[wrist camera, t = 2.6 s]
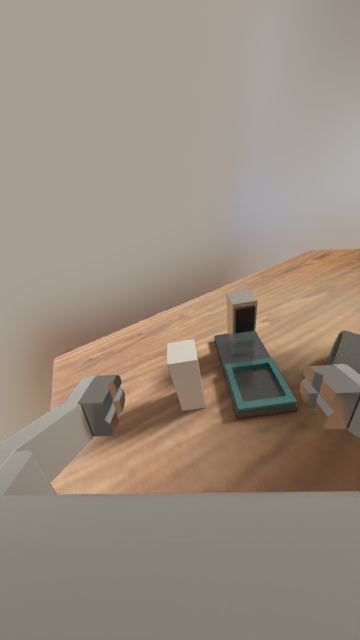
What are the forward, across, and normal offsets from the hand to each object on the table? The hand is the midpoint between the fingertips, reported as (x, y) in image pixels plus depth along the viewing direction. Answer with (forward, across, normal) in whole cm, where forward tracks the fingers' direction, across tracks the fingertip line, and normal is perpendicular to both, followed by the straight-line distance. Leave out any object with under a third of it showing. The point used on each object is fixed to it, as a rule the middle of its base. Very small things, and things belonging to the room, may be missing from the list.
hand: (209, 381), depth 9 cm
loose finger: (+18, +1, +20) cm, 27 cm away
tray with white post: (+23, -10, +18) cm, 31 cm away
